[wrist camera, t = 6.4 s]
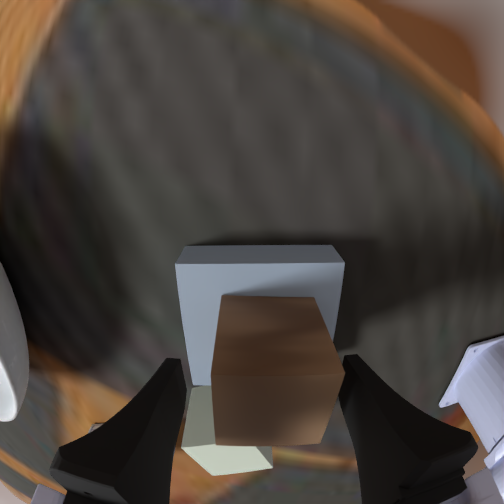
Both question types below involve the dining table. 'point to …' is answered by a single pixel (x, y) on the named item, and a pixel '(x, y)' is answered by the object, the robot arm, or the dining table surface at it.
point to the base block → (250, 287)
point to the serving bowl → (11, 353)
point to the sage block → (205, 449)
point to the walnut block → (272, 372)
